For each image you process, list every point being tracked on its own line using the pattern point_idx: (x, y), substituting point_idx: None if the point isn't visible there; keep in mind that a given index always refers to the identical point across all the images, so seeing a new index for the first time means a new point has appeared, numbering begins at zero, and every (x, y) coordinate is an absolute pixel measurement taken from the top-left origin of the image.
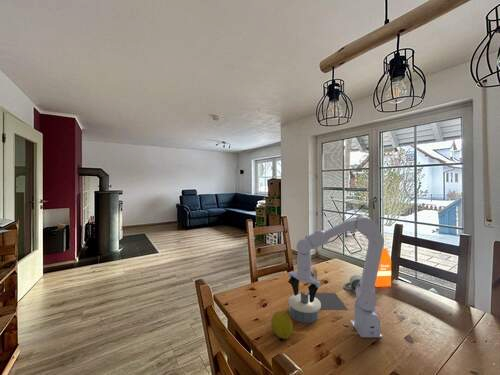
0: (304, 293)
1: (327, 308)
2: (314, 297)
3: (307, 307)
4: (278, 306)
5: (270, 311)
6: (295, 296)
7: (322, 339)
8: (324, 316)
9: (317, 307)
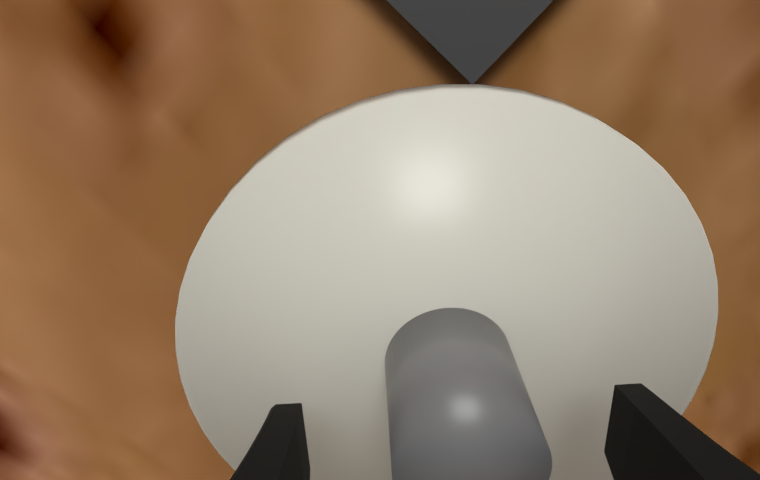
0: (473, 474)
1: None
2: (507, 110)
3: (565, 442)
4: (96, 341)
5: (132, 457)
6: (238, 341)
7: (737, 419)
8: (636, 89)
9: (686, 345)
